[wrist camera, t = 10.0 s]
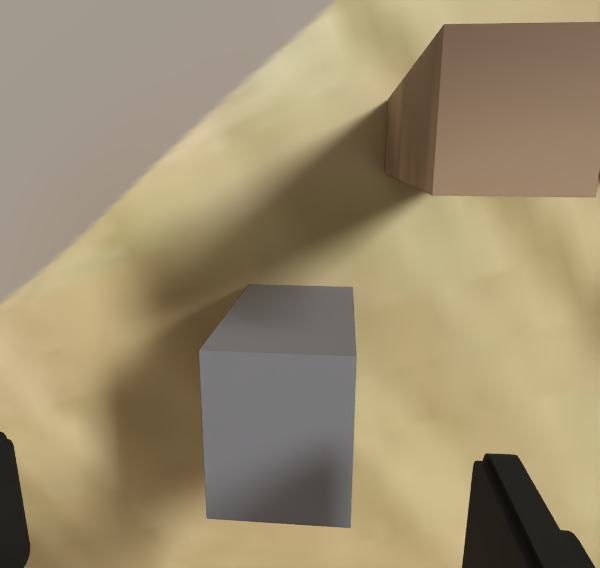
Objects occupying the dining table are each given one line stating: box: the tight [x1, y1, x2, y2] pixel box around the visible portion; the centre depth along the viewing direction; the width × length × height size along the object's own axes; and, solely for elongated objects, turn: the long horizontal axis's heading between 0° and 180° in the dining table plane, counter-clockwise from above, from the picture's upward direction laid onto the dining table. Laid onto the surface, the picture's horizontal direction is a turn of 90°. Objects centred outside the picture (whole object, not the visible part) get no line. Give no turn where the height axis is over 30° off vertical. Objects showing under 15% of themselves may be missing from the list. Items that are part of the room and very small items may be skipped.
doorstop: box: [199, 284, 356, 528], centre depth 17 cm, size 5×4×7 cm
